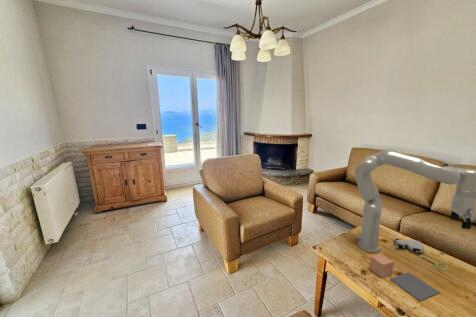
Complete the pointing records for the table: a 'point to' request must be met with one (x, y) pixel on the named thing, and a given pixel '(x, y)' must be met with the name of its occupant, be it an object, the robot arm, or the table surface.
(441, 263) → the key
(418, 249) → the robot toy
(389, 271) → the brown cube
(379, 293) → the table surface
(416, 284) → the charcoal mat
